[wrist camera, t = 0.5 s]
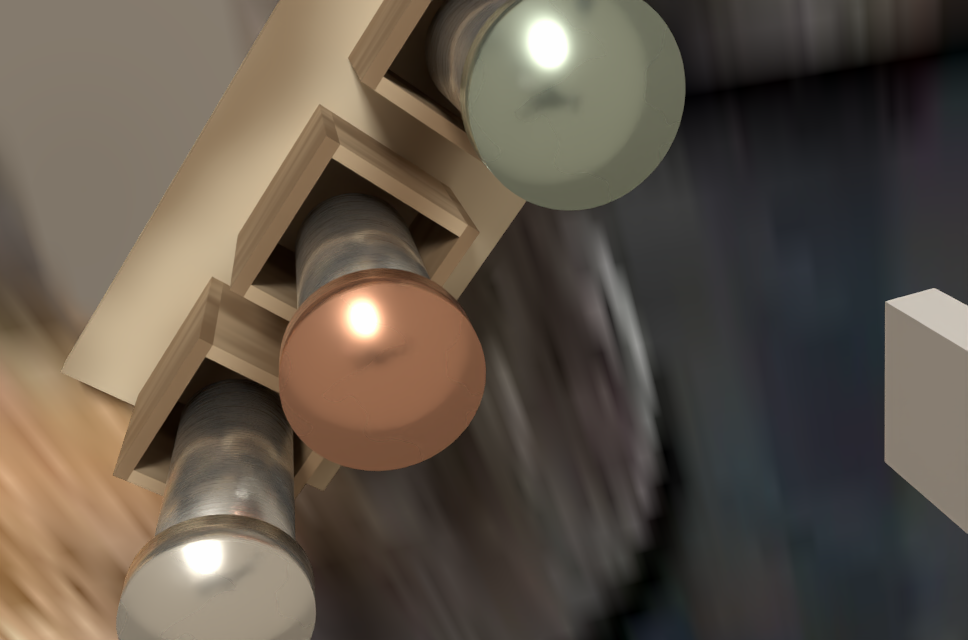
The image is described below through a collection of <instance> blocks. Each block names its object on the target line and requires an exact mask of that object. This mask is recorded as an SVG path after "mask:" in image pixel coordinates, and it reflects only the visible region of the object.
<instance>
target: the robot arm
mask: <svg viewBox="0 0 968 640" xmlns="http://www.w3.org/2000/svg"><path fill="white" fill-rule="evenodd" d="M885 462H886V463H887V464H888V465H889V466H890V467H891V468H893V469H894V470H895V471H896V472H897V473H898V474H899V475H901V476H902V477H903V478H904V479H905V480H906V481H907V482H909V483H910V484H911V485H912V486H913V487H914V488H916V489H917V490H918V491H919V492H920V493H921V494H922V495H924V496H925V497H926V498H927V499H928V500H929V501H930V502H932V503H933V504H934V505H935V506H936V507H937V508H939V509H940V510H941V511H942V512H943V513H944V514H945V515H947V516H948V517H949V518H950V519H951V520H952V521H953V522H955V523H956V524H957V525H958V526H959V527H960V528H962V529H963V530H964V531H965V532H966V533H967V534H968V306H967V305H965V304H963V303H961V302H959V301H958V300H956V299H954V298H952V297H950V296H948V295H946V294H945V293H943V292H941V291H939V290H937V289H935V288H933V289H929V290H926V291H922V292H918V293H915V294H911V295H907V296H904V297H900V298H896V299H893V300H889V301H885Z"/></svg>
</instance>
